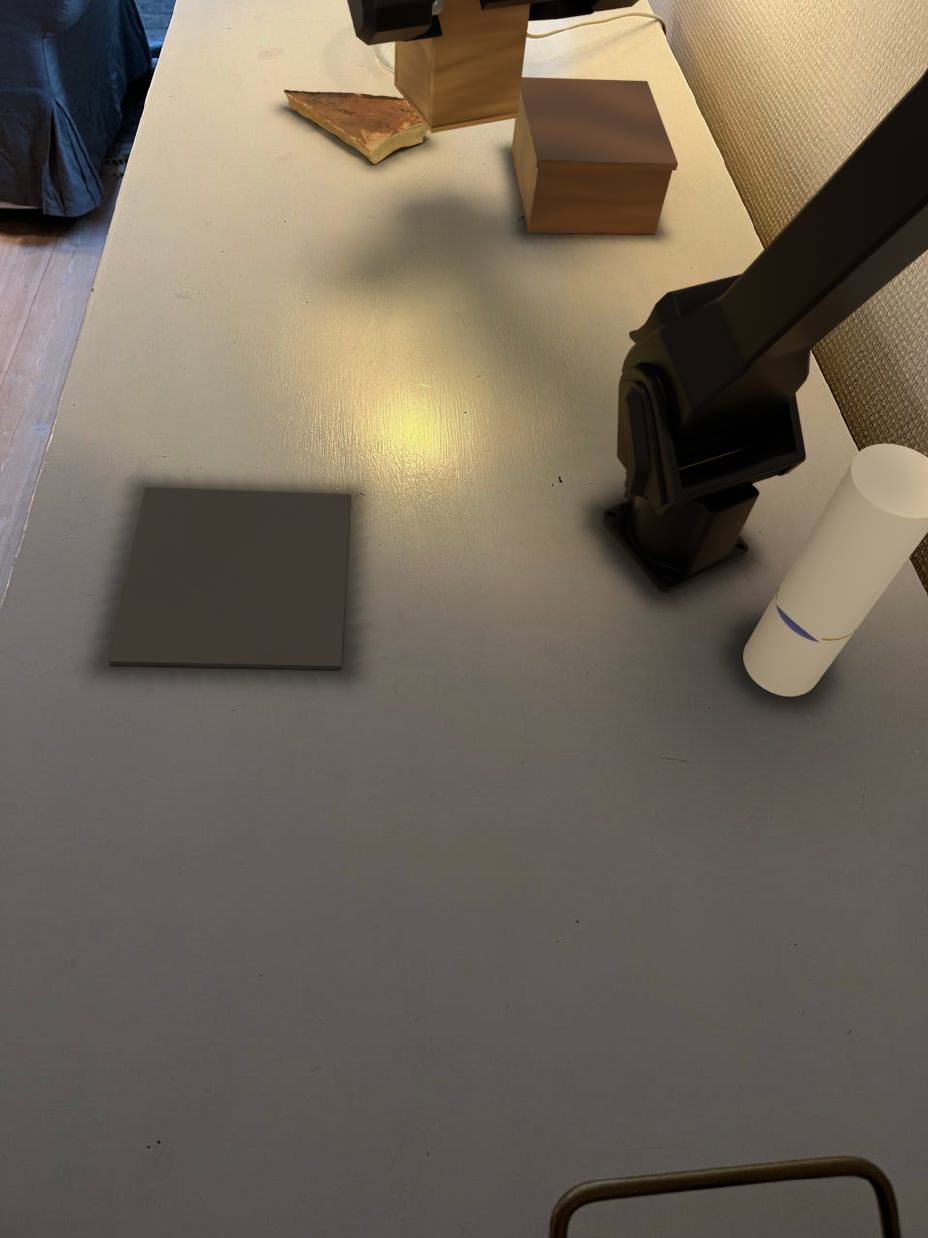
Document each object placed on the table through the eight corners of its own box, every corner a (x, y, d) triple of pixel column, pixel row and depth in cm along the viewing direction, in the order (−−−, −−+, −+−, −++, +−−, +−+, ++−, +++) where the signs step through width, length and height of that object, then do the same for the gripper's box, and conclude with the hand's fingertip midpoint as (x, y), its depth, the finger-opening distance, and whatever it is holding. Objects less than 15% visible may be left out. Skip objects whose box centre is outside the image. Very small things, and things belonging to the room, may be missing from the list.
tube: (815, 635, 56) (941, 450, 44) (823, 701, 54) (959, 524, 41) (740, 626, 56) (845, 438, 44) (745, 691, 54) (857, 511, 41)
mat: (341, 669, 52) (341, 666, 52) (110, 665, 51) (108, 661, 51) (351, 498, 59) (350, 493, 59) (146, 491, 58) (144, 486, 58)
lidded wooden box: (658, 235, 76) (678, 163, 71) (526, 234, 75) (537, 159, 70) (630, 152, 83) (647, 80, 78) (508, 149, 81) (517, 76, 76)
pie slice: (284, 107, 82) (282, 85, 81) (354, 79, 86) (354, 58, 84) (369, 167, 78) (369, 145, 77) (439, 135, 82) (440, 114, 80)
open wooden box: (517, 118, 67) (534, -29, 60) (431, 133, 65) (438, -16, 58) (477, 71, 70) (488, -73, 63) (393, 85, 68) (396, -62, 61)
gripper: (678, -299, 51) (548, -129, 65) (338, -285, 46) (278, -103, 60) (717, -61, 54) (584, 51, 68) (401, -21, 48) (329, 92, 63)
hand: (451, 20), depth 65 cm, fingers closed on open wooden box, 6 cm apart
